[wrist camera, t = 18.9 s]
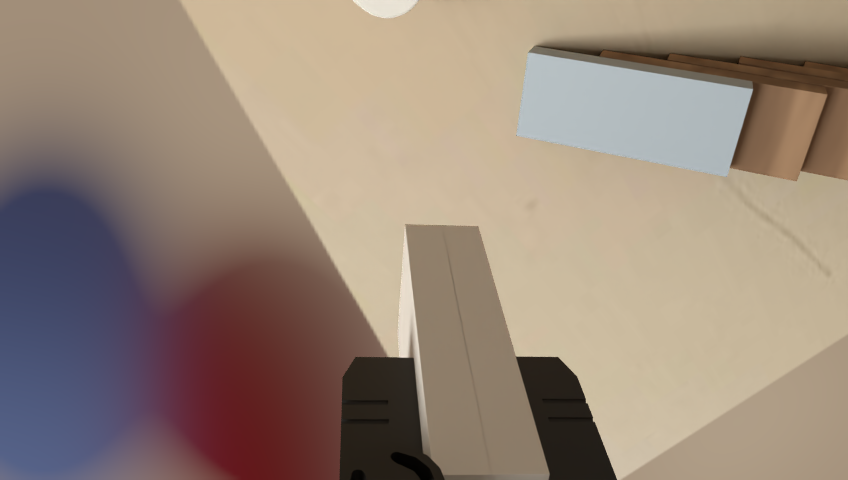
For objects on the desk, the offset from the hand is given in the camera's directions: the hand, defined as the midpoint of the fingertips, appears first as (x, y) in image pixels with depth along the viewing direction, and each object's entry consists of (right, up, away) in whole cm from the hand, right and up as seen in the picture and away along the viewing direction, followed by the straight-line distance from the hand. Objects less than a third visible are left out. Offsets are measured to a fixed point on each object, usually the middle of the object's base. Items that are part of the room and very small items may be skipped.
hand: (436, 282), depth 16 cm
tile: (+6, +10, +28) cm, 30 cm away
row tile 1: (+10, +10, +28) cm, 31 cm away
